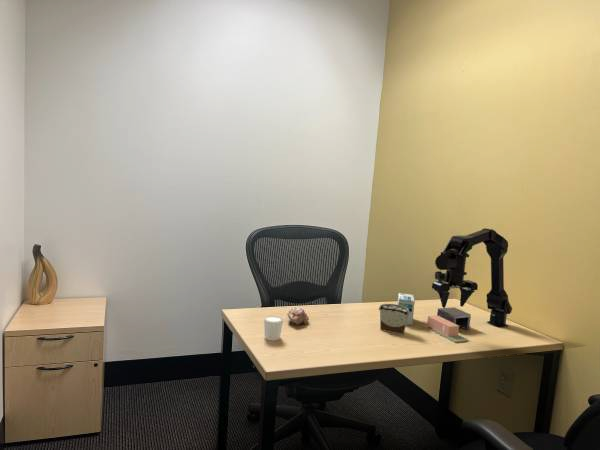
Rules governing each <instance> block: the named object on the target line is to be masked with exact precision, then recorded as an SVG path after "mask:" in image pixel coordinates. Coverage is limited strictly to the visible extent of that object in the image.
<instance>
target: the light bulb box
mask: <svg viewBox="0 0 600 450" xmlns="http://www.w3.org/2000/svg"><path fill="white" fill-rule="evenodd" d="M415 303H416V302H415V296H414V294H408V293H401V292H398V297H397V305H401V306H404V307H406V308H408V309H409V314H410V316H409V314H408V317H407V322H406V326H407V325H408V326H413V323H414V322H413V320H414V311H415Z"/></svg>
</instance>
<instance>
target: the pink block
mask: <svg viewBox="0 0 600 450" xmlns="http://www.w3.org/2000/svg"><path fill="white" fill-rule="evenodd" d="M426 326H427V327H428V328H431V329H435V330H437V331H439V332H440V333H442V334H444V335H446V336H458V335H459V332H460V331H459V330H460V326H458V325H456V324H454V323H452V322H450V321H448V320H446V319H444V318H442V317H440V316H437V315H428V316H427V322H426Z"/></svg>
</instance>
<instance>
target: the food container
mask: <svg viewBox="0 0 600 450" xmlns="http://www.w3.org/2000/svg"><path fill="white" fill-rule="evenodd" d="M378 311H379V316H380V317H379V319H380V320H379V321H380V322H379V323H380V324H379V325H380V328H379V329H380V330H381V331H385V332H389V333H394V334H397V335H403V336H404V335H405V330H406V326H407V325H406V322H407V317H408V314H409V309H408V308H406V307H404V306H401V305H398V304H396V303H395V304H394V303H383V304H380V305H379V307H378ZM409 316H410V314H409Z"/></svg>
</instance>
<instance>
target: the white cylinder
mask: <svg viewBox="0 0 600 450" xmlns="http://www.w3.org/2000/svg"><path fill="white" fill-rule="evenodd" d="M283 322H284V319H283V318H282V317H279V316H274V315H273V316H272V315H271V316H266V317H264V318H263V323H264V324H263V325H264V326H263V327H264V331H263V332H264V333H263V334H264V338H265V340H268V341H277V340H280V338H281V334H282V329H283Z"/></svg>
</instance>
